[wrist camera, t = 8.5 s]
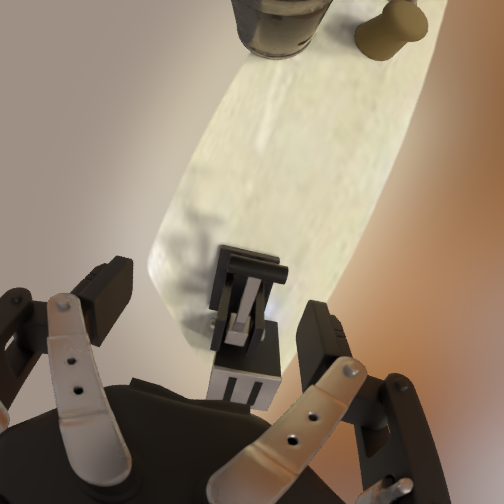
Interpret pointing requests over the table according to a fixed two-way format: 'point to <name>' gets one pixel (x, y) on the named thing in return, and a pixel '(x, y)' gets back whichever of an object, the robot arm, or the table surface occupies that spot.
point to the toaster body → (247, 371)
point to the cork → (391, 30)
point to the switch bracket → (238, 299)
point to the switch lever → (250, 292)
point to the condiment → (413, 0)
